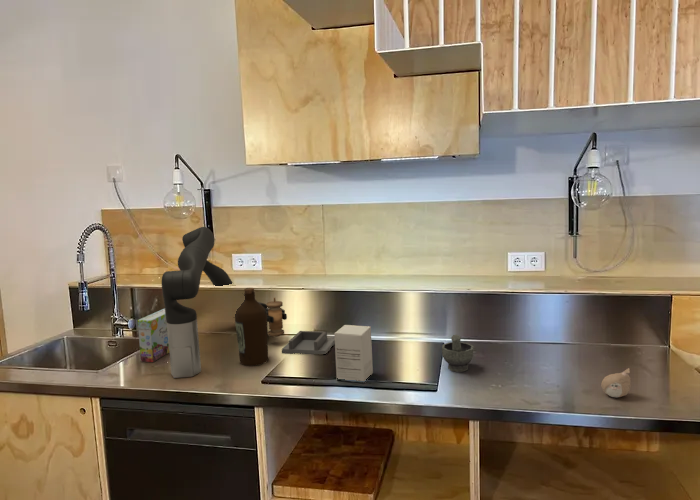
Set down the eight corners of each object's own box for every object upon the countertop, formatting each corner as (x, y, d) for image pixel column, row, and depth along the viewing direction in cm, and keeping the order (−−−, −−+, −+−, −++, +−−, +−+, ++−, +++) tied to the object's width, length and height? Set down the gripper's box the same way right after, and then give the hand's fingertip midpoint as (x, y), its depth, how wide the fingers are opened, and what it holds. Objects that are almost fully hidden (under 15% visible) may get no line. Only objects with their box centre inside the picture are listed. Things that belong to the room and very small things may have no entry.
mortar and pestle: (444, 361, 164) (443, 325, 163) (474, 363, 162) (474, 326, 160) (440, 374, 154) (439, 336, 152) (472, 376, 151) (471, 337, 149)
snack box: (154, 362, 175) (150, 320, 173) (140, 362, 176) (135, 319, 174) (186, 343, 196) (182, 304, 194) (173, 342, 197) (169, 304, 195)
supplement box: (346, 370, 160) (344, 324, 158) (373, 372, 157) (371, 325, 155) (335, 381, 152) (333, 332, 150) (364, 384, 149) (362, 334, 147)
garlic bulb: (621, 403, 130) (622, 373, 129) (596, 395, 135) (597, 366, 134) (634, 396, 134) (635, 366, 132) (609, 388, 139) (610, 360, 138)
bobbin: (284, 336, 187) (281, 299, 186) (268, 337, 187) (265, 300, 185) (284, 331, 193) (282, 296, 191) (269, 332, 193) (266, 297, 191)
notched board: (336, 342, 189) (335, 330, 188) (325, 355, 175) (325, 342, 175) (295, 340, 193) (294, 329, 192) (281, 353, 179) (281, 340, 179)
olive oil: (264, 353, 179) (260, 284, 176) (274, 362, 170) (269, 289, 167) (234, 359, 175) (229, 288, 171) (242, 369, 165) (237, 293, 162)
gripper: (238, 305, 195) (261, 312, 182) (270, 298, 204) (295, 304, 191) (239, 324, 196) (263, 332, 183) (271, 316, 205) (296, 324, 192)
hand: (279, 318), depth 187 cm, fingers closed on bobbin, 5 cm apart
